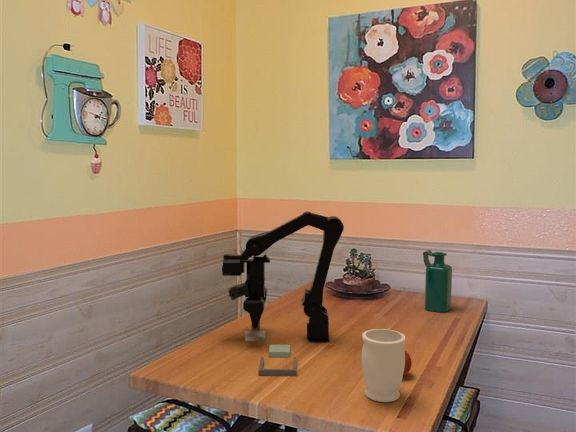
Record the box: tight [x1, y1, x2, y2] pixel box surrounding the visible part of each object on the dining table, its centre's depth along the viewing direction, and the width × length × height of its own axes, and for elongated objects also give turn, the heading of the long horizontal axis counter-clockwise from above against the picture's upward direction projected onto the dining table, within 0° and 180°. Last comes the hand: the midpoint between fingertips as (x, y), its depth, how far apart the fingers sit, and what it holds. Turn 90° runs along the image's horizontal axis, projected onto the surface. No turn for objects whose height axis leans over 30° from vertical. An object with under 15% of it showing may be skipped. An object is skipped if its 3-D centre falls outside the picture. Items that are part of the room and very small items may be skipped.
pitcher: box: [422, 249, 453, 314], centre depth 201 cm, size 10×8×22 cm
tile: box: [268, 344, 291, 358], centre depth 157 cm, size 6×6×2 cm
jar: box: [361, 328, 406, 403], centre depth 129 cm, size 11×10×15 cm
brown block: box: [244, 320, 267, 342], centre depth 169 cm, size 6×4×9 cm, turn 89°
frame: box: [258, 356, 297, 377], centre depth 146 cm, size 10×9×2 cm
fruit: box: [403, 350, 413, 376], centre depth 141 cm, size 7×7×8 cm
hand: (255, 324), depth 170 cm, fingers open, 8 cm apart
